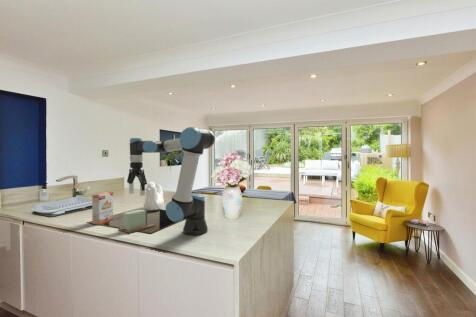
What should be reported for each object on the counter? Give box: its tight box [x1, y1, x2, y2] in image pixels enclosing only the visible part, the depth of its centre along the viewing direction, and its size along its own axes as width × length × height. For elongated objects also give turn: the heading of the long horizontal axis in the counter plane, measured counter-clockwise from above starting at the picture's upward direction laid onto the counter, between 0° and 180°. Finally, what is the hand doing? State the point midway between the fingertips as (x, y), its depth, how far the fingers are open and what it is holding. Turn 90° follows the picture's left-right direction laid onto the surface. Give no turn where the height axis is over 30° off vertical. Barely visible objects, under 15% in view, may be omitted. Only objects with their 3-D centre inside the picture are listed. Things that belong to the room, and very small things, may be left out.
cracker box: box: [91, 191, 114, 226], centre depth 172 cm, size 14×6×21 cm, turn 168°
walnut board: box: [118, 222, 156, 235], centre depth 158 cm, size 13×18×1 cm
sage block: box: [122, 208, 148, 230], centre depth 157 cm, size 6×10×13 cm
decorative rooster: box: [143, 181, 165, 211], centre depth 211 cm, size 25×16×25 cm, turn 159°
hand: (136, 194), depth 157 cm, fingers open, 13 cm apart
